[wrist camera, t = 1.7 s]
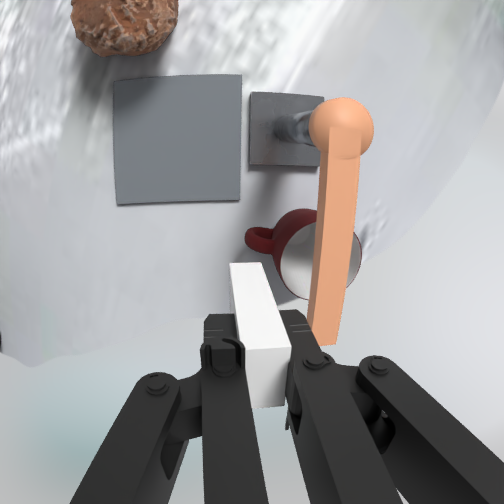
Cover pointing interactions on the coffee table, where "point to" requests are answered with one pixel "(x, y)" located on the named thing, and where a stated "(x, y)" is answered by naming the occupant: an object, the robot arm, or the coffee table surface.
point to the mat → (177, 138)
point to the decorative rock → (123, 25)
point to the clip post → (282, 129)
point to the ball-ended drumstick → (335, 207)
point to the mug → (296, 249)
